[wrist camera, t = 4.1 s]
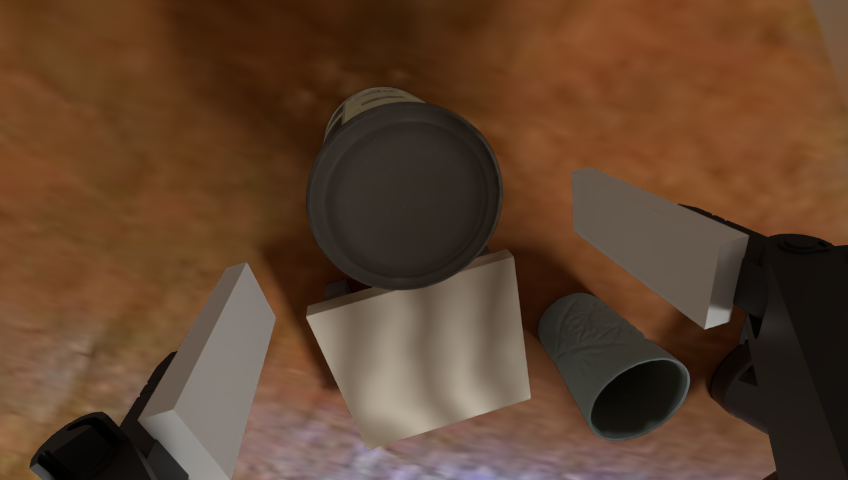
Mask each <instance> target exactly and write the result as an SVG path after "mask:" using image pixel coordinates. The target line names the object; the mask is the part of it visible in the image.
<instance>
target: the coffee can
mask: <svg viewBox="0 0 848 480" xmlns="http://www.w3.org/2000/svg"><path fill="white" fill-rule="evenodd" d="M502 198H503V184H502V177H501V172H500V168H499V164H498V162H497V159H496V157H495V154H494V152H493V150H492V148H491V147H490V145H489V143H488V142H487V140H486V139H485V138H484V136H483V135H482V134H481V133H480V132H479V131H478V130H477V129H476V128H475V127H474V126H473V125H472V124H470V123H469V122H468V121H467V120H465V119H464V118H462V117H461V116H459V115H458V114H456V113H454V112H452V111H450V110H448V109H445V108H442V107H439V106H436V105H432V104H429V103H427V102H424V101H423V100H421V99H419V98H417V97H416V96H414V95H412V94H410V93H408V92H406V91H403V90H401V89H397V88H393V87H376V88H370V89H366V90H363V91H361V92H358V93H356V94H354V95H353V96H351V97H349V98H348V99H347V100H345V101H344V102H343V103H342V104H341V105H340V106H339V107H338V108H337V110H336V111H335V112H334V114H333V115H332V117H331V119H330V121H329V123H328V126H327V129H326V132H325V137H324V142H323V146H322V148H321V150H320V152H319V154H318V155H317V157H316V159H315V161H314V164H313V166H312V169H311V172H310V175H309V180H308V185H307V195H306V205H307V214H308V220H309V224H310V228H311V231H312V233H313V236H314V238H315V240H316V242H317V244H318V245H319V247H320V249H321V250H322V251H323V252H324V254H325V255H326V256H327V258H328V259H329V260H330V261H331V262H332V263H333V264H334V265H335V266H336V267H337V268H338V269H340V270H341V271H342V272H344V273H345V274H346V275H348V276H350V277H351V278H353V279H355V280H357V281H359V282H361V283H364V284H366V285H369V286H372V287H376V288H381V289H387V290H413V289H420V288H425V287H428V286H432V285H435V284H438V283H440V282H442V281H445V280H447V279H448V278H450V277H452V276H454V275H456V274H457V273H459V272H460V271H462V270H463V269H464V268H465V267H467V266H468V265H469V264H470V263H471V262H472V261H473V260H474V259H475V258H476V257H477V256H478V255H479V254H480V253H481V251H482V250H483V249H484V247H485V246H486V245H487V243H488V242H489V240H490V238H491V236H492V234H493V233H494V230H495V228H496V225H497V223H498V220H499V216H500V213H501V208H502Z"/></svg>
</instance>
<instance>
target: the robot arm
mask: <svg viewBox="0 0 848 480" xmlns="http://www.w3.org/2000/svg"><path fill="white" fill-rule="evenodd" d="M572 193H573V229H574V232H575V233H576V234H578V235H579V236H580V237H582V238H583V239H584V240H586V241H587V242H588V243H590V244H591V245H592V246H594V247H595V248H596V249H598V250H599V251H600V252H602V253H603V254H604V255H606V256H607V257H608V258H610V259H611V260H612V261H614V262H615V263H616V264H618V265H619V266H620V267H622V268H623V269H624V270H626V271H627V272H628V273H630V274H631V275H632V276H634V277H635V278H636V279H638V280H639V281H640V282H642V283H643V284H644V285H646V286H647V287H648V288H650V289H651V290H652V291H654V292H655V293H656V294H658V295H659V296H660V297H662V298H663V299H664V300H666V301H667V302H668V303H670V304H671V305H672V306H674V307H675V308H676V309H678V310H679V311H680V312H682V313H683V314H684V315H686V316H687V317H688V318H690V319H691V320H692V321H694V322H695V323H696V324H698V325H699V326H700V327H702V328H703V329H704V330H705V329H708V328H711V327H714V326H717V325H720V324H724V323H727V322H730V318H731V313H732V309H733V304H735V305H737V306H739V307H740V308H742V309H743V310H745V311H746V315H745V319H744V323H743V327H742V331H741V335H740V340H739V344H743V345H741V346H740V347H739V348H737V349H736V350H735V351H734V352H733V353H732V354H731V355H729V356H728V358H727V359H726V360H725V361H724V362H723V363H722V364H721V366H720V367H719V369H718V370H717V372H716V374H715V376H714V378H713V381H712V384H711V395H712V397H713V399H714V400H715V401H716V402H717V403H718V404H719V405H720V406H721V407H722V408H723V409H724V410H725V411H727V412H728V413H729V414H731V415H733V416H735V417H737V418H739V419H742V420H743V421H745V422H747V423H748V424H750V425H752V426H753V427H755V428H757V429H759V430H760V431H762V432H764V433H766V434H767V435H769V438H770V443H771V447H772V452H773V456H774V461H775V465H776V471H775V472H773V473H772V474H770V475H769V476H767V477H766V478H764V479H763V480H848V245H842V246H834V245H832V244H831V243H829V242H827V241H825V240H822V239H820V238H816V237H812V236H808V235H800V234H778V235H773V236H770V237H766V236H764V235H761V234H759V233H757V232H754V231H752V230H749V229H747V228H745V227H742V226H740V225H737V224H735V223H733V222H730V221H728V220H727V221H725V220H724V219H723V218H721V217H718V216H716V215H714V216H713V215H712V214H711V213H709V212H706V211H704V210H701V209H699V208H696V207H691V206H686V205H682V204H675V203H673V202H671V201H668V200H666V199H664V198H661V197H659V196H657V195H654V194H652V193H650V192H647V191H645V190H643V189H640V188H638V187H636V186H634V185H631V184H629V183H627V182H624V181H622V180H620V179H617V178H615V177H613V176H610V175H608V174H606V173H603V172H601V171H599V170H596V169H594V168H592V167H586V168H583V169H579V170H576V171H572ZM275 319H276V317H275V315H274V313H273V312H272V310H271V308H270V306H269V304H268V302H267V300H266V298H265V296H264V294H263V292H262V290H261V288H260V286H259V285H258V283H257V281H256V279H255V277H254V275H253V273H252V271H251V269H250V267H249V265H248V263H247V262H245V263H242V264H238V265H234V266H231V267H227V268H226V269H225V271H224V273H223V275H222V276H221V278H220V280H219V281H218V283H217V285H216V287H215V288H214V290H213V292H212V293H211V295H210V297H209V299H208V300H207V302H206V304H205V305H204V307H203V309H202V311H201V312H200V314H199V316H198V317H197V319H196V321H195V323H194V324H193V326H192V328H191V329H190V331H189V333H188V335H187V336H186V338H185V340H184V341H183V343H182V345H181V346H180V348H179V350H178V351H176V352H172V353H170V354H169V355H168V356H167V357H166V358H165V359H164V360H163V361H162V362H161V363H160V364H159V365H158V366H157V367H156V369H155V370H154V372H153V374H152V375H151V377H150V378H149V380H148V382H147V383H148V384H147V385H145V386H144V388H143V390H142V391H141V393H140V397H138V398H137V399H136V401H135V402H134V404H133V406H132V407H131V409H130V410H129V412H128V414H127V415H126V417H125V419H124V420H123V422H122V423H121V425H120V427H118V426H117V424H116V423H115V422H114V421H113V420H112V419H111V418H110V417H109V416H108V415H107V414H105V413H104V412H93V413H90V414H87V415H85V416H82V417H80V418H78V419H76V420H74V421H72V422H71V423H69V424H67V425H65V426H64V427H63V428H61V429H60V430H59V431H57V432H56V433H55V434H53V435H52V436H51V437H50V438H49V439H48V440H47V441H46V442H45V443H44V444H43V445H42V446H41V447H40V448H39V449H38V451H37V452H36V454H35V455H34V456H33V458H32V459H31V463H30V467H29V469H31V470H32V471H33V472H34V473H35V474H37V475H38V476H39V477H40V478H42V479H43V480H187V479H188V477H189V478H190V479H191V480H231V479H232V475H233V471H234V468H235V464H236V460H237V457H238V453H239V450H240V446H241V442H242V439H243V435H244V432H245V428H246V424H247V421H248V417H249V413H250V410H251V406H252V403H253V399H254V395H255V392H256V388H257V385H258V381H259V377H260V374H261V370H262V366H263V363H264V359H265V356H266V352H267V348H268V345H269V341H270V338H271V334H272V330H273V327H274V323H275ZM745 339H748V341H747V342H746V343H745Z"/></svg>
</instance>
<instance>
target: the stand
mask: <svg viewBox="0 0 848 480" xmlns="http://www.w3.org/2000/svg"><path fill="white" fill-rule="evenodd" d="M306 318H307V320H308V322H309V324H310V327H311V329H312V331H313V333H314V335H315V337H316V339H317V342H318V344H319V346H320V348H321V350H322V352H323V355H324V357H325V359H326V361H327V363H328V365H329V367H330V370H331V372H332V374H333V376H334V378H335V380H336V382H337V385H338V387H339V389H340V391H341V393H342V395H343V398H344V400H345V402H346V404H347V406H348V408H349V410H350V413H351V415H352V417H353V419H354V421H355V423H356V425H357V428H358V430H359V432H360V434H361V436H362V438H363V441H364V443H365V445H366V447H367V449H368V450H370V449H373V448H376V447H379V446H382V445H385V444H389V443H392V442H395V441H398V440H401V439H404V438H408V437H411V436H414V435H417V434H420V433H423V432H426V431H430V430H433V429H436V428H439V427H442V426H445V425H449V424H452V423H455V422H458V421H461V420H464V419H468V418H471V417H474V416H477V415H480V414H483V413H487V412H490V411H493V410H496V409H499V408H502V407H506V406H509V405H512V404H515V403H518V402H521V401H525V400H528V399H531V395H530V387H529V379H528V370H527V362H526V354H525V346H524V337H523V329H522V321H521V313H520V304H519V296H518V288H517V280H516V271H515V263H514V256H513V255H512V254H511V253H510V252H509V251H508V249H505V250H501V251H498V252H494V253H491V252H490V250H489V249H488V248H487V246H485V247H484V249H483V250H482V251H481V253H480V254H479V255H478V256H477V257H476V258H475V259H474V260H473V261H472V262H471V263H470V264H469V265H468V266H467V267H465V268H464V269H463V270H462V271H460V272H459V273H457V274H456V275H454V276H452V277H450V278H448V279H447V280H445V281H442V282H440V283H438V284H435V285H432V286H428V287H425V288H420V289H413V290H387V289H381V288H376V287H372V288H369V289H365V290H362V291H358V292H355V293H351V290H350V288H349V285H348V282H347V280H346V279H343V280H340V281H336V282H333V283H329V284H326V290H325V300H324V301H323V302H320V303H316V304H313V305H310V306H308V308H307V313H306Z"/></svg>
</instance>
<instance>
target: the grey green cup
mask: <svg viewBox="0 0 848 480" xmlns="http://www.w3.org/2000/svg"><path fill="white" fill-rule="evenodd" d="M538 335H539V338H540V341H541V343H542V345H543V346H544V348H545V350H546V352H547V353H548V355H549V357H550V358H551V359H552V360H553V361H554V362H555V365H556V366H557V369H558V370H559V373H560V374H561V375H562V378H563V380H564V381H565V383H566V385H567V388H568V390H569V391H570V393H571V394H572V396H573V398H574V399H575V401H576V403H577V405H578V407H579V409H580V411H581V413H582V415H583V416H584V418H585V420H586V422H587V424H588V426H589V427H590V429H591V430H592V431H593V433H594V434H596V435H597V436H599V437H601V438H603V439H606V440H614V441H621V440H628V439H633V438H636V437H639V436H642V435H644V434H647V433H649V432H651V431H652V430H654V429H656V428H658V427H659V426H661V425H662V424H663V423H665V422H666V421H667V420H669V419H670V418H671V417H672V416H673V415H674V414H675V413H676V412H677V410H678V409H679V408H680V406H681V405H682V404H683V402H684V400H685V398H686V395H687V392H688V389H689V385H690V376H689V373H688V371H687V369H686V367H685V366H684V365H683V364H682V363H681V362H680V361H679V360H677V359H676V358H675V357H673V356H672V355H671V354H669V353H668V352H667V351H665V350H664V349H662V348H661V347H659V346H658V345H656V344H655V343H654V342H653V341H651V340H648V339H645V337H644V334H643V333H642V332H640V331H639V330H637V329H636V328H635V327H634V326H632V325H631V324H630V323H629V322H628V321H626V320H625V319H623V318H621V316H620V315H618V314H617V313H616V312H615V311H614V310H612V309H611V308H610V307H609V306H607V305H606V304H605V303H604V302H602V301H601V300H600V299H599V298H597V297H595V296H593V295H590V294H587V293H574V294H570V295H567V296H564V297H562V298H560V299H558V300H557V301H555V302H554V303H553V304H551V305H550V306H549V307H548V308H547V310H546V311H545V312H544V314H543V315H542V317H541V319H540V322H539V325H538Z"/></svg>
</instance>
